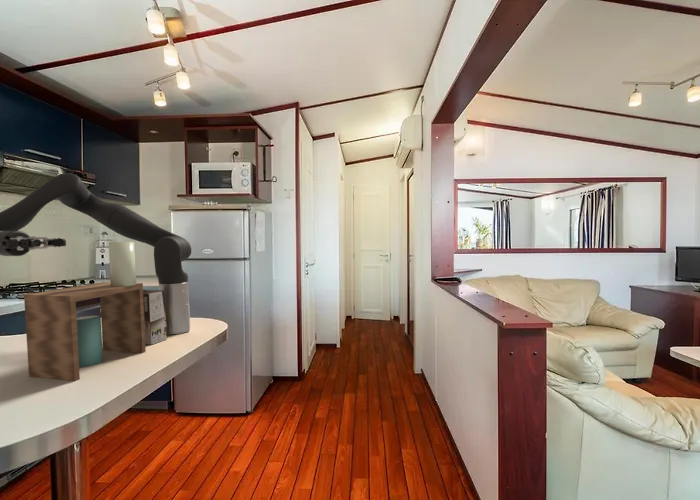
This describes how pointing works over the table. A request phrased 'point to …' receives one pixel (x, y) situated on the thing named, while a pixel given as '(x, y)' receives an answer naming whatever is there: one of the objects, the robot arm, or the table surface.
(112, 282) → the pale green cylinder
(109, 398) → the table surface
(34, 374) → the stand
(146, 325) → the coffee box
